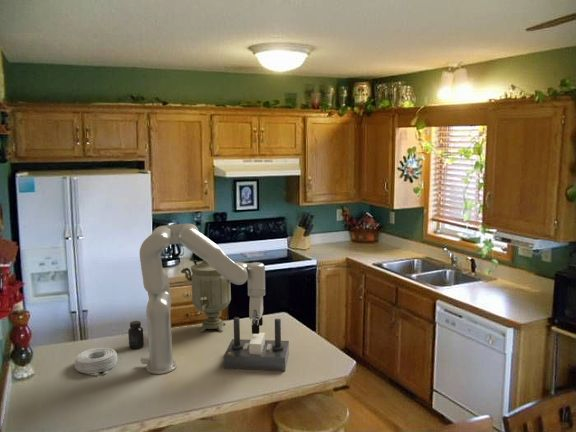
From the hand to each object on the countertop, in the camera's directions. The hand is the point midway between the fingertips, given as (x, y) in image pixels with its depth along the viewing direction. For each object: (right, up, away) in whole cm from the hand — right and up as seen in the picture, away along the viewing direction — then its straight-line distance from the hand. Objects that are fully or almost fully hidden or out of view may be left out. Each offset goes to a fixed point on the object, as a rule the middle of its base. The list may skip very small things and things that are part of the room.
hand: (257, 329), depth 231 cm
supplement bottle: (-58, -12, +19) cm, 62 cm away
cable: (-69, -16, -2) cm, 71 cm away
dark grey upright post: (-9, -8, +2) cm, 12 cm away
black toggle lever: (+9, -8, +1) cm, 12 cm away
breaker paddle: (0, -11, +2) cm, 11 cm away
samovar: (-27, -9, +39) cm, 48 cm away
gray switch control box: (0, -14, +2) cm, 15 cm away
